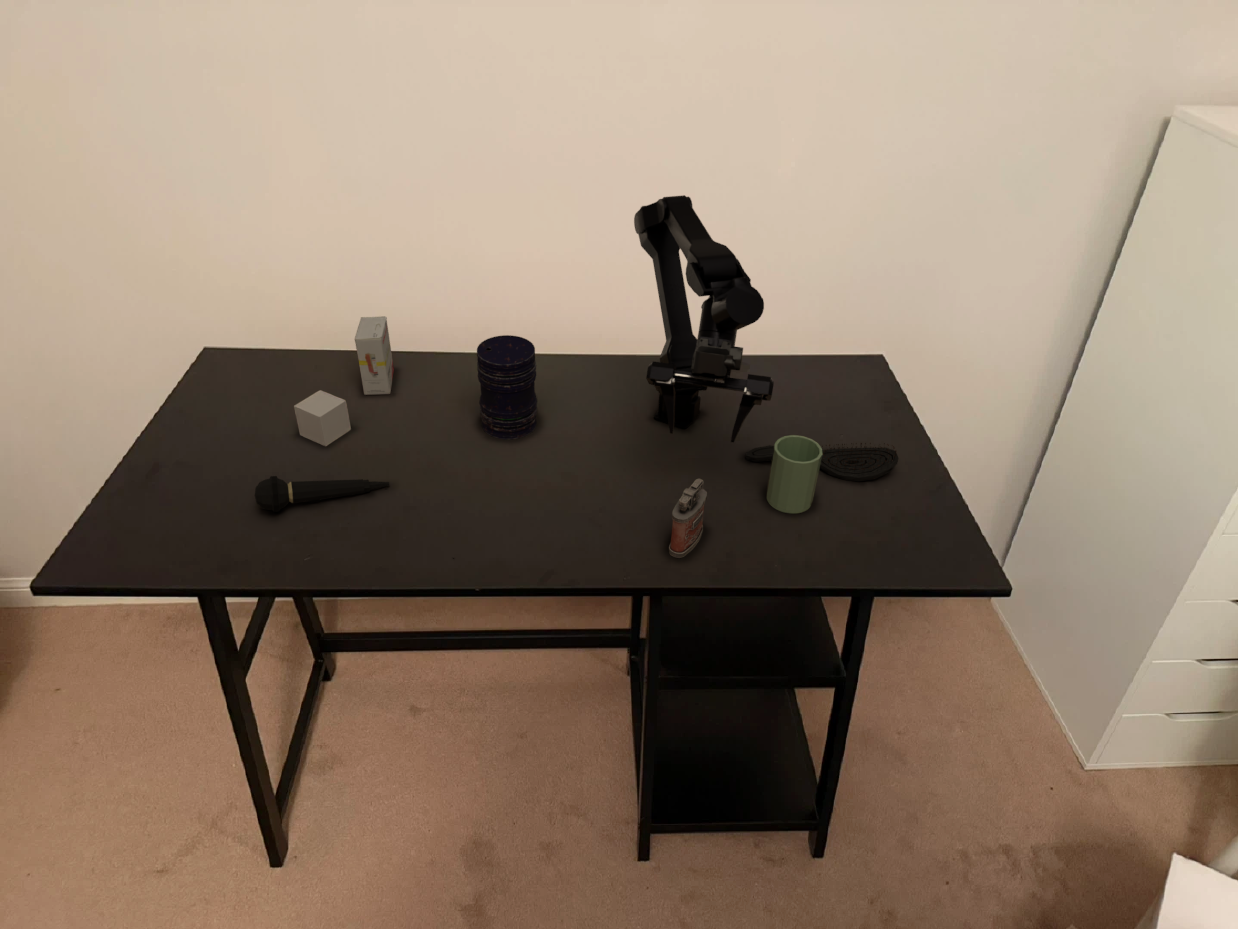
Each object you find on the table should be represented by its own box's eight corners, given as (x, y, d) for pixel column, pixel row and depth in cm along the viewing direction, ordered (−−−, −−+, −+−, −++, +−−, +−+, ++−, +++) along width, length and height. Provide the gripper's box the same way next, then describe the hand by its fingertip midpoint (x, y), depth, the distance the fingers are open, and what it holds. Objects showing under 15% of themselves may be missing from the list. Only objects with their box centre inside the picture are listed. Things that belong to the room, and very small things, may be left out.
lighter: (684, 560, 137) (689, 508, 130) (663, 552, 138) (668, 500, 132) (707, 530, 142) (713, 478, 136) (687, 522, 143) (693, 471, 137)
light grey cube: (325, 418, 163) (320, 389, 159) (351, 429, 160) (346, 400, 157) (299, 435, 158) (293, 405, 155) (325, 446, 156) (319, 417, 152)
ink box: (368, 370, 176) (359, 315, 168) (394, 370, 176) (387, 314, 169) (362, 395, 169) (353, 338, 162) (390, 395, 169) (382, 338, 162)
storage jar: (538, 408, 167) (537, 335, 158) (536, 440, 160) (534, 365, 150) (483, 407, 167) (478, 334, 158) (478, 439, 159) (472, 364, 150)
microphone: (387, 495, 151) (255, 507, 144) (385, 461, 149) (252, 472, 142) (392, 506, 146) (256, 519, 139) (391, 472, 144) (253, 483, 137)
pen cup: (759, 503, 148) (767, 453, 142) (776, 479, 153) (784, 430, 147) (802, 519, 145) (812, 468, 139) (818, 494, 150) (828, 444, 144)
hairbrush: (746, 430, 159) (895, 436, 157) (745, 447, 161) (892, 454, 159) (746, 459, 152) (902, 466, 150) (745, 476, 155) (898, 483, 152)
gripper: (651, 315, 133) (634, 422, 132) (782, 331, 130) (766, 441, 130) (657, 332, 144) (642, 431, 143) (778, 348, 142) (763, 448, 141)
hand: (701, 437), depth 139 cm, fingers open, 9 cm apart
